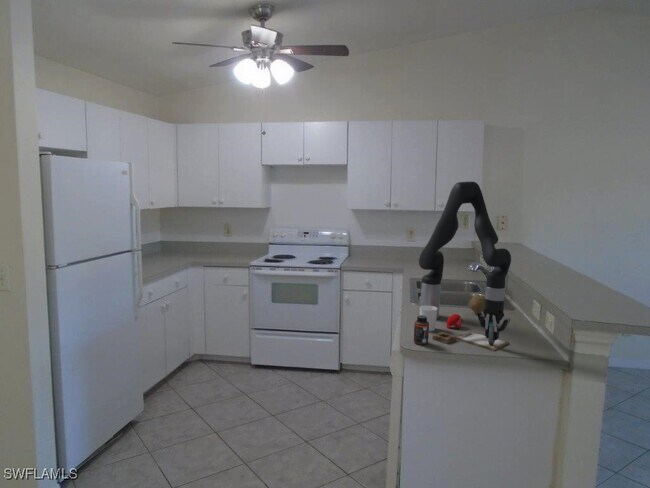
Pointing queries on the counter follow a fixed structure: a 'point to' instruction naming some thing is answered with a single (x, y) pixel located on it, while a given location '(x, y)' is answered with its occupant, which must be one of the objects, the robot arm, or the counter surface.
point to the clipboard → (480, 340)
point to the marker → (491, 334)
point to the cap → (454, 320)
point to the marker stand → (444, 337)
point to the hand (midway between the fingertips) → (491, 338)
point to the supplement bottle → (421, 330)
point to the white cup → (429, 315)
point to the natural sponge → (477, 304)
